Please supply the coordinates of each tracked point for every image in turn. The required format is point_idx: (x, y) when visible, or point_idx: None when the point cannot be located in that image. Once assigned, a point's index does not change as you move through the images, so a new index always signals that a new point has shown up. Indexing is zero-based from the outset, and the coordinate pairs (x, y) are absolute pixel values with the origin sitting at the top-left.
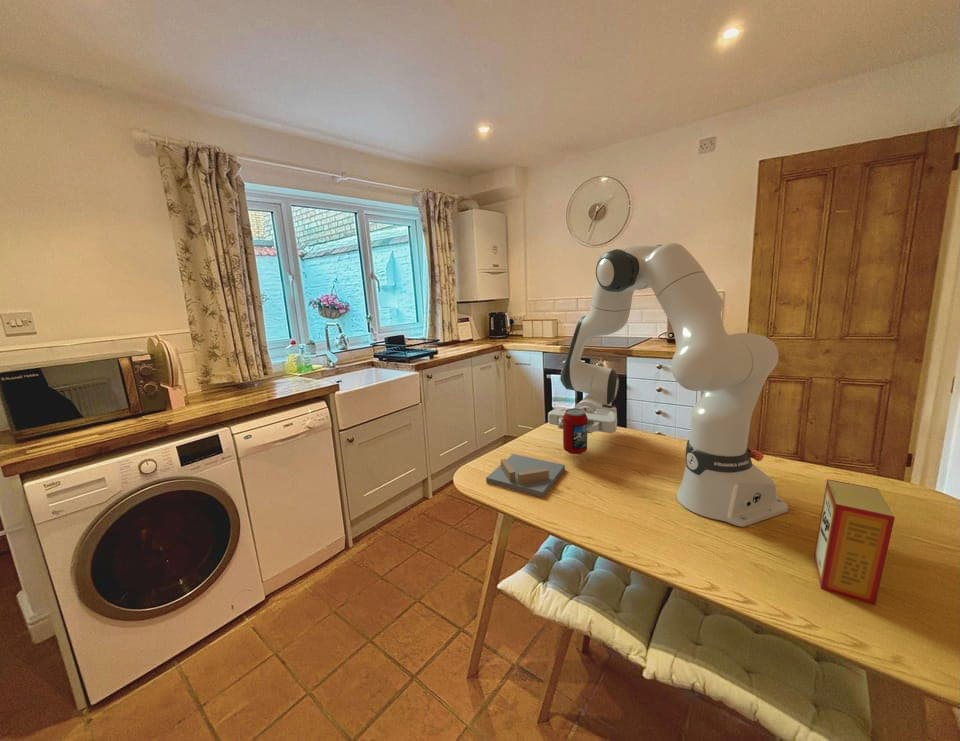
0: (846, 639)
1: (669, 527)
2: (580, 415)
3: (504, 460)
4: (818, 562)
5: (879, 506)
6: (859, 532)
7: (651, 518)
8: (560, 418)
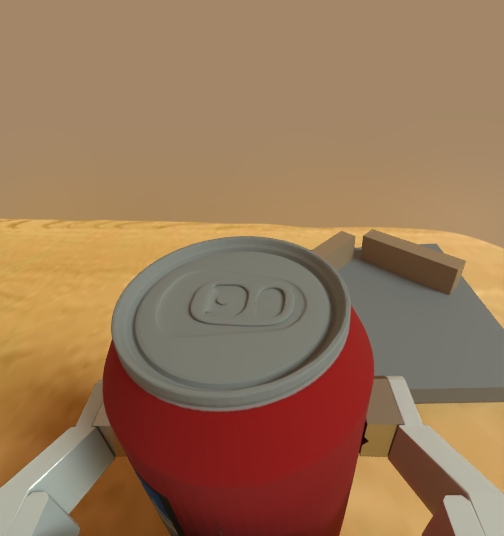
0: None
1: (6, 285)
2: (164, 267)
3: (449, 261)
4: None
5: None
6: None
7: (31, 293)
8: (485, 504)
